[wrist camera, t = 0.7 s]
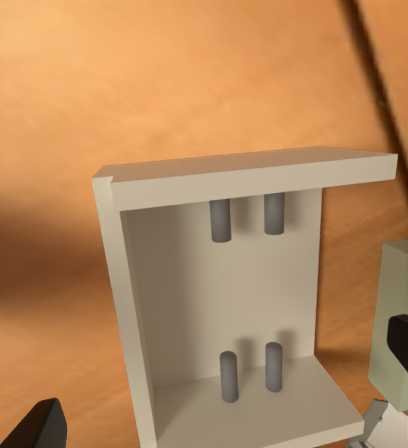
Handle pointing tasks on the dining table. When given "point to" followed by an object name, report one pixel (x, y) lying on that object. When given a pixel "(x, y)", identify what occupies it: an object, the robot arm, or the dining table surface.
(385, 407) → the skyscraper
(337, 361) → the dining table surface
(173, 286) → the tray
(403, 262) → the shelf board
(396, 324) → the robot arm
